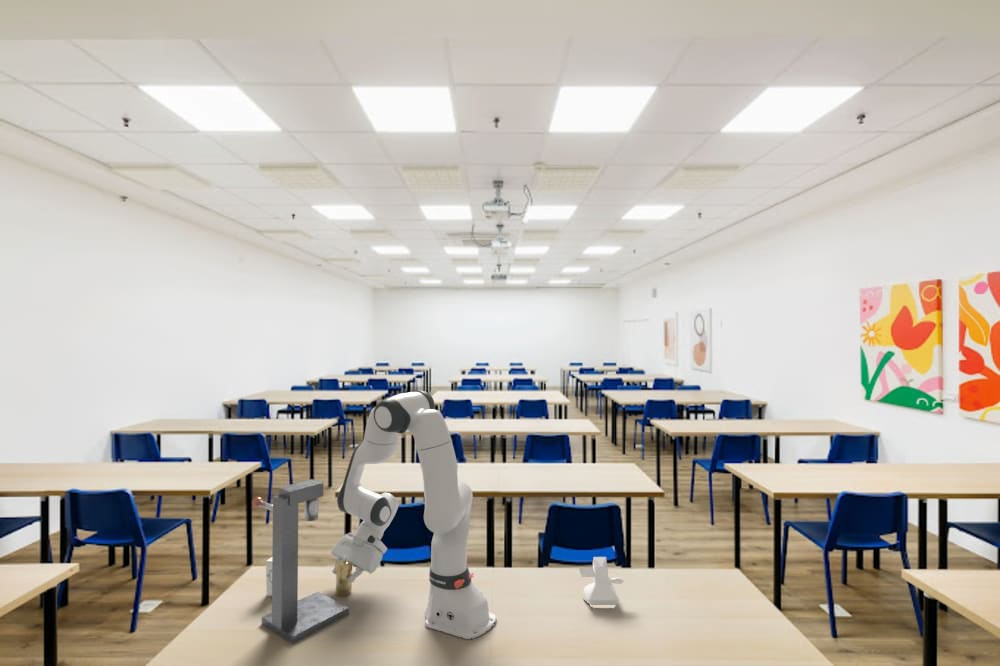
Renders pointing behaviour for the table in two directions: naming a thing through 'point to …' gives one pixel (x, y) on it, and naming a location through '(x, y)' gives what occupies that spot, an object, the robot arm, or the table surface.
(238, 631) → the table surface
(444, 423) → the robot arm
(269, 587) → the ink cartridge box
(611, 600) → the white irregular piece
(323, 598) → the bench press
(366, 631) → the table surface
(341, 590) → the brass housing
